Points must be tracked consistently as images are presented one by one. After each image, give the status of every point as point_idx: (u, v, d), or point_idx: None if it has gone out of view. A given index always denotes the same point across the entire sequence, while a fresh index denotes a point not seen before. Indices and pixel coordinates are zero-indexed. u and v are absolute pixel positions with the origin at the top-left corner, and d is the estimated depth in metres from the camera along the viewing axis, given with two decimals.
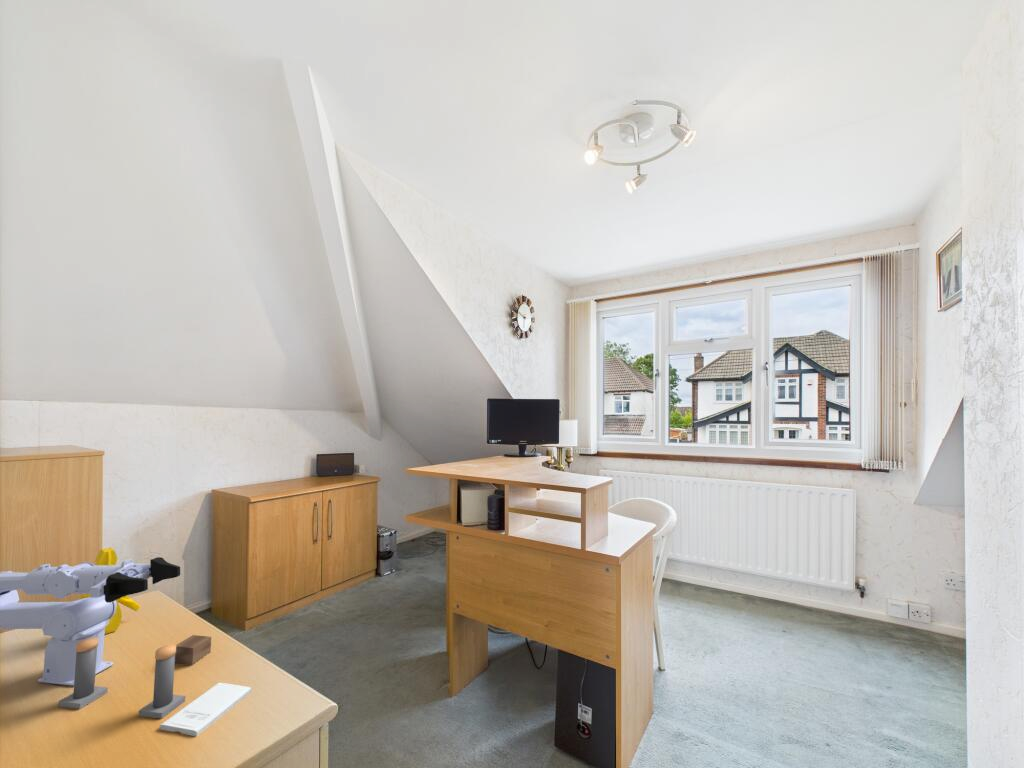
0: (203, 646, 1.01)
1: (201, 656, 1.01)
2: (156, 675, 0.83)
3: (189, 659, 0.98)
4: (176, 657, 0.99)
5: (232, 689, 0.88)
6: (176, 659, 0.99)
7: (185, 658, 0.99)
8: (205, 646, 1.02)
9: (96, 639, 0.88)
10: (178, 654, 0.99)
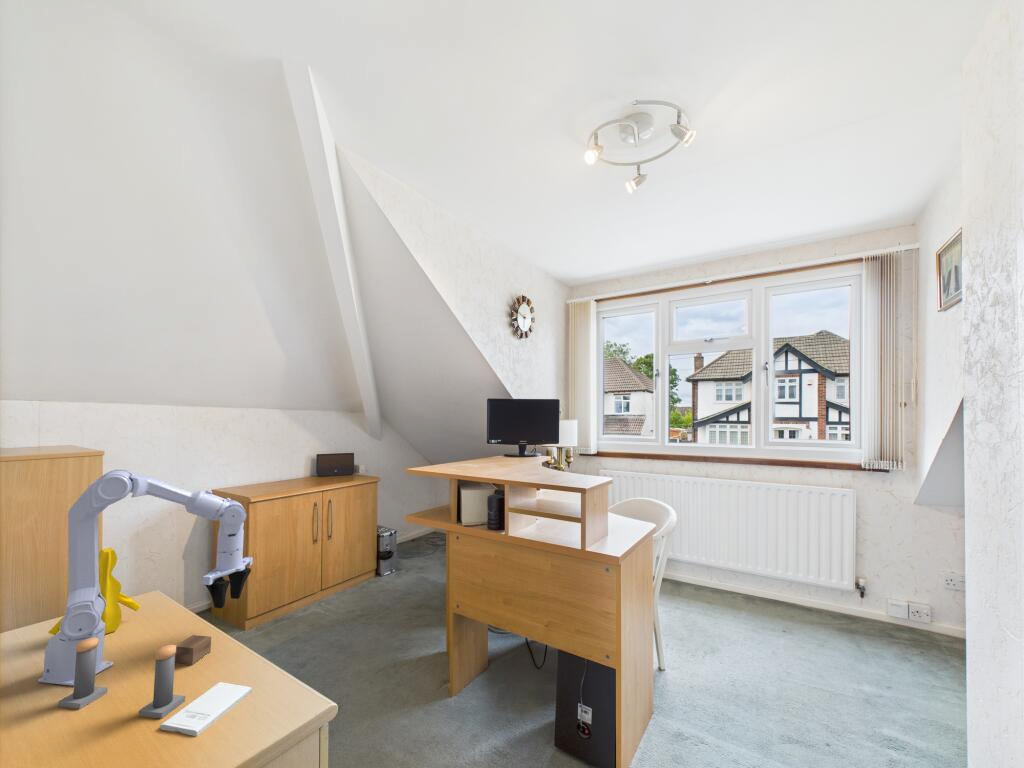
0: (203, 645, 1.01)
1: (201, 656, 1.01)
2: (156, 675, 0.83)
3: (189, 659, 0.98)
4: (176, 657, 0.99)
5: (232, 689, 0.89)
6: (176, 659, 0.99)
7: (185, 658, 0.99)
8: (205, 646, 1.02)
9: (96, 639, 0.88)
10: (178, 654, 0.99)
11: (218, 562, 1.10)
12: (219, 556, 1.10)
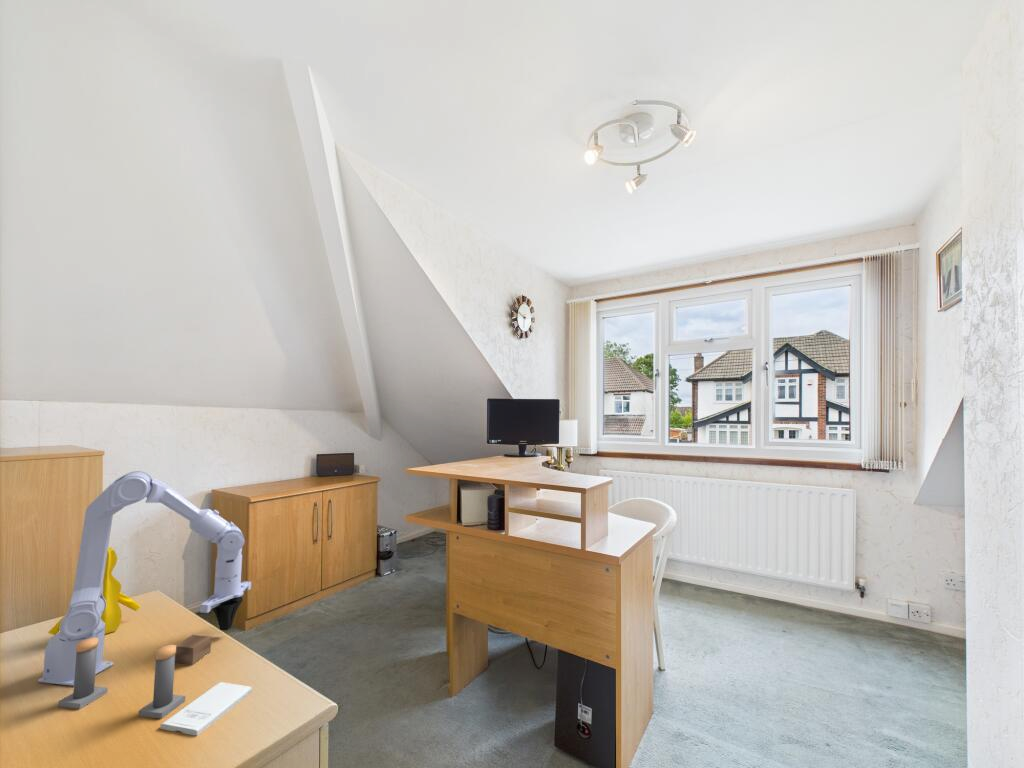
0: (203, 645, 1.01)
1: (201, 656, 1.01)
2: (156, 675, 0.83)
3: (189, 658, 0.98)
4: (176, 657, 0.99)
5: (233, 689, 0.89)
6: (176, 659, 0.99)
7: (185, 658, 0.99)
8: (205, 646, 1.02)
9: (96, 639, 0.88)
10: (178, 654, 0.99)
11: (216, 588, 1.09)
12: (217, 582, 1.09)
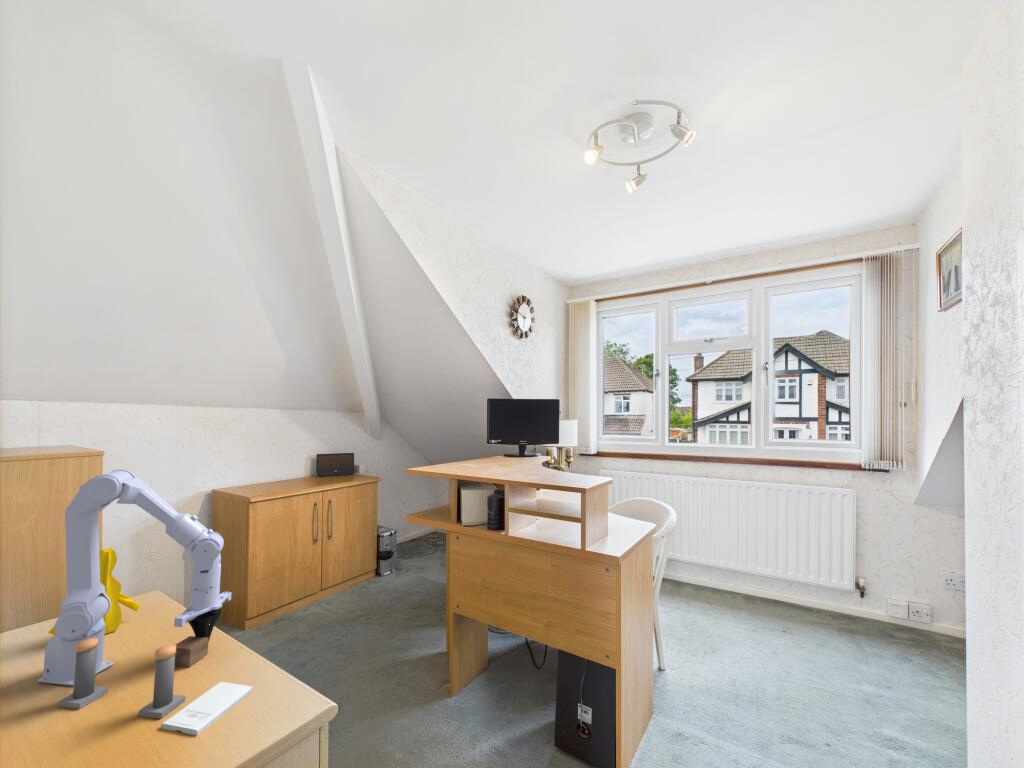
0: (200, 646, 1.00)
1: (198, 657, 1.00)
2: (156, 675, 0.83)
3: (186, 660, 0.98)
4: None
5: (233, 688, 0.89)
6: None
7: (182, 659, 0.98)
8: (202, 647, 1.01)
9: (96, 639, 0.88)
10: (175, 656, 0.98)
11: (192, 600, 1.02)
12: (193, 594, 1.02)
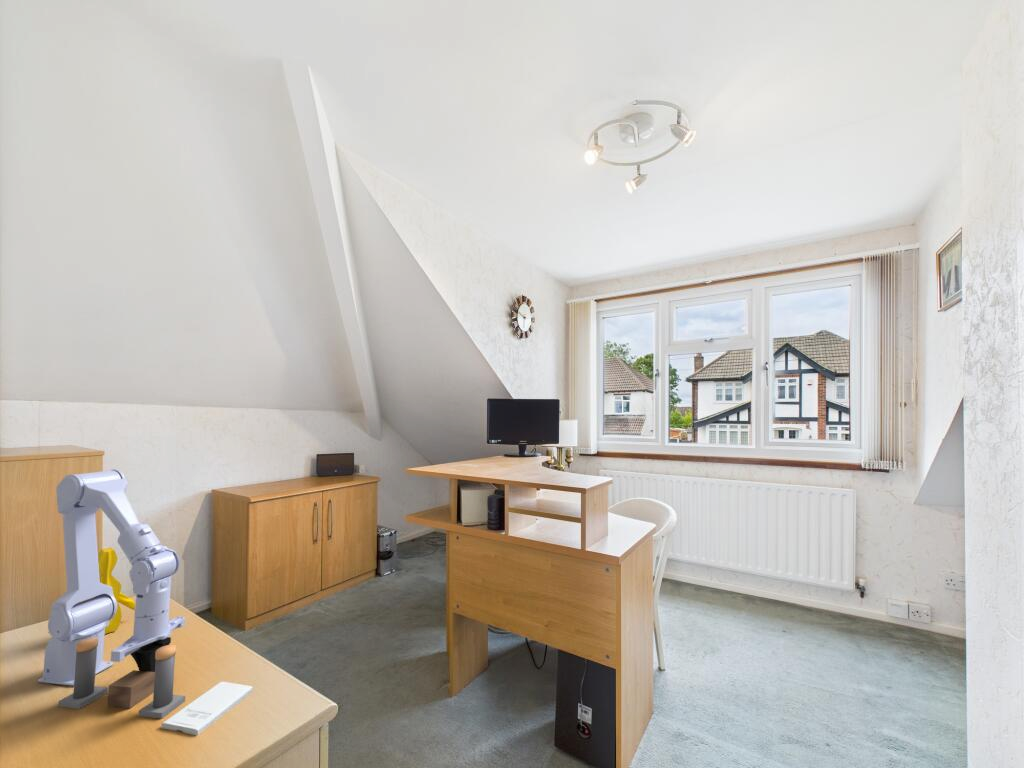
0: (144, 683, 0.87)
1: (142, 696, 0.86)
2: (156, 675, 0.83)
3: (126, 700, 0.84)
4: (111, 698, 0.84)
5: (234, 688, 0.89)
6: (111, 701, 0.84)
7: (121, 700, 0.84)
8: (147, 684, 0.87)
9: (96, 639, 0.88)
10: (114, 695, 0.84)
11: (135, 629, 0.89)
12: (136, 622, 0.89)
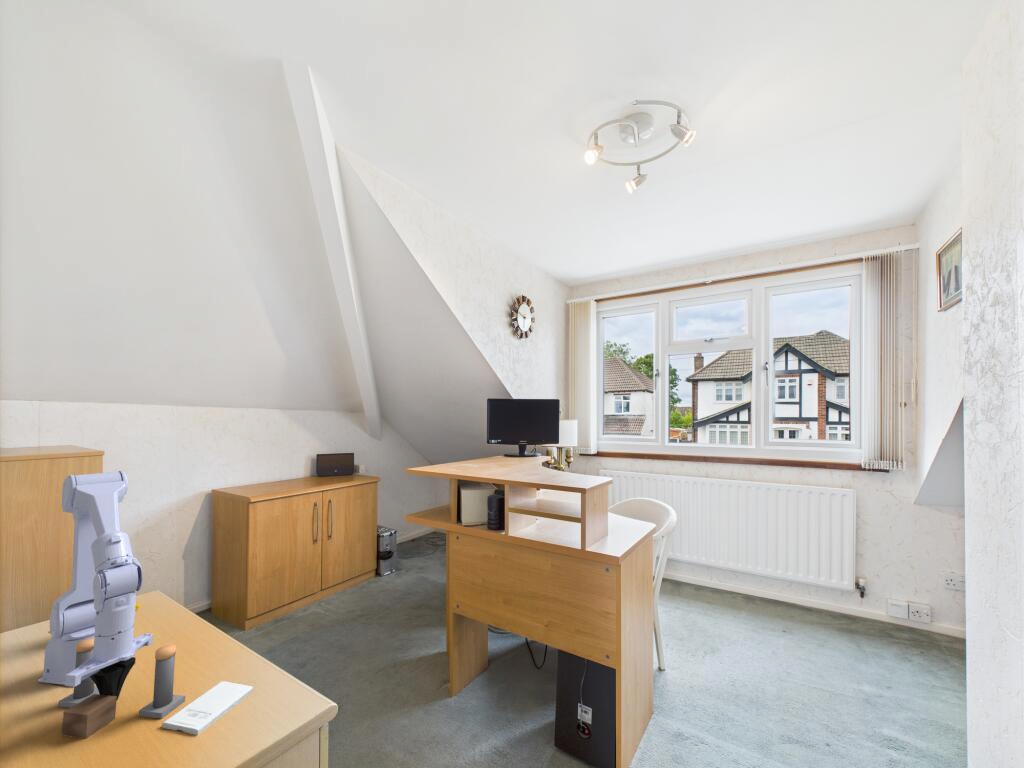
0: (103, 709, 0.79)
1: (101, 723, 0.79)
2: (156, 675, 0.83)
3: (82, 729, 0.76)
4: (66, 726, 0.77)
5: (234, 688, 0.89)
6: (66, 729, 0.77)
7: (77, 728, 0.77)
8: (107, 710, 0.80)
9: None
10: (69, 723, 0.77)
11: (95, 649, 0.81)
12: (95, 641, 0.81)
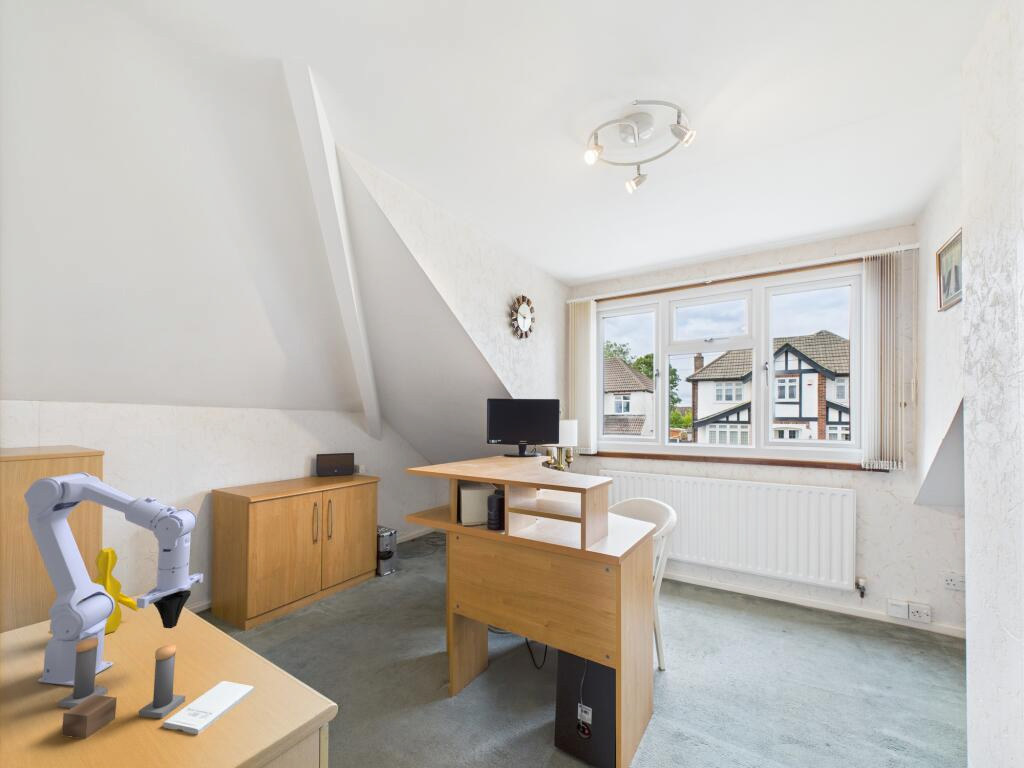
0: (103, 710, 0.79)
1: (100, 724, 0.79)
2: (156, 675, 0.83)
3: (81, 730, 0.76)
4: (66, 727, 0.77)
5: (235, 688, 0.89)
6: (66, 730, 0.77)
7: (77, 729, 0.77)
8: (107, 711, 0.80)
9: (96, 639, 0.88)
10: (69, 724, 0.77)
11: (158, 581, 0.96)
12: (159, 574, 0.96)
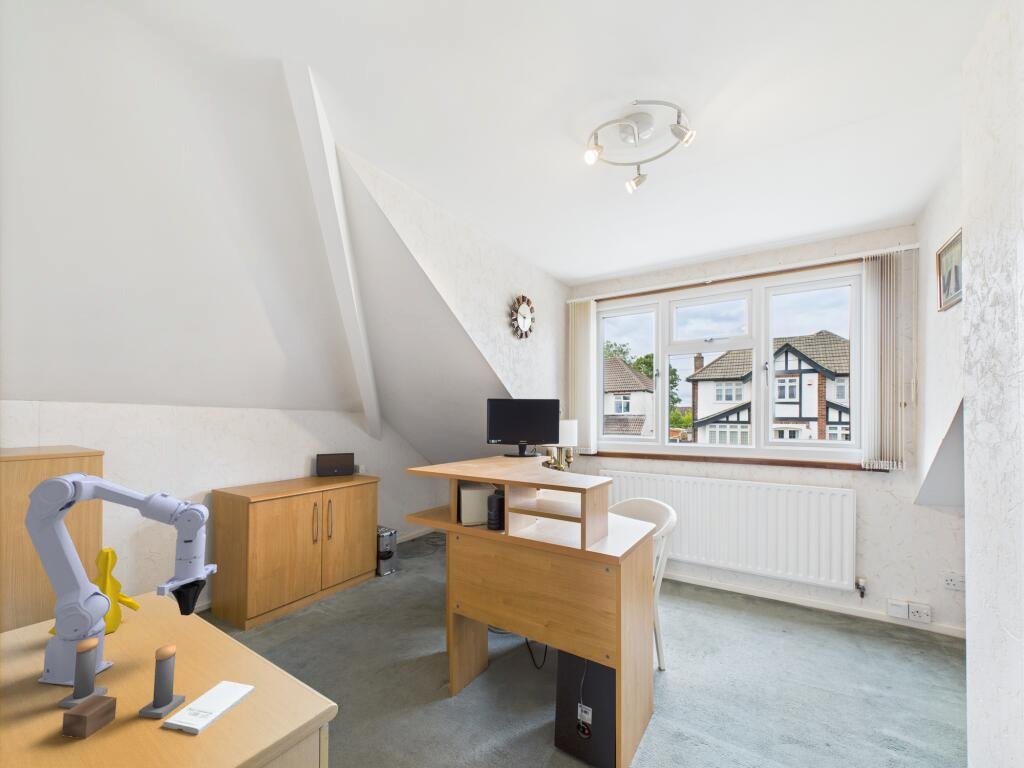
0: (103, 711, 0.79)
1: (100, 725, 0.79)
2: (156, 675, 0.83)
3: (81, 730, 0.76)
4: (66, 727, 0.77)
5: (235, 687, 0.89)
6: (66, 730, 0.77)
7: (76, 729, 0.77)
8: (107, 711, 0.80)
9: (96, 639, 0.88)
10: (69, 724, 0.77)
11: (176, 570, 1.01)
12: (177, 564, 1.01)
